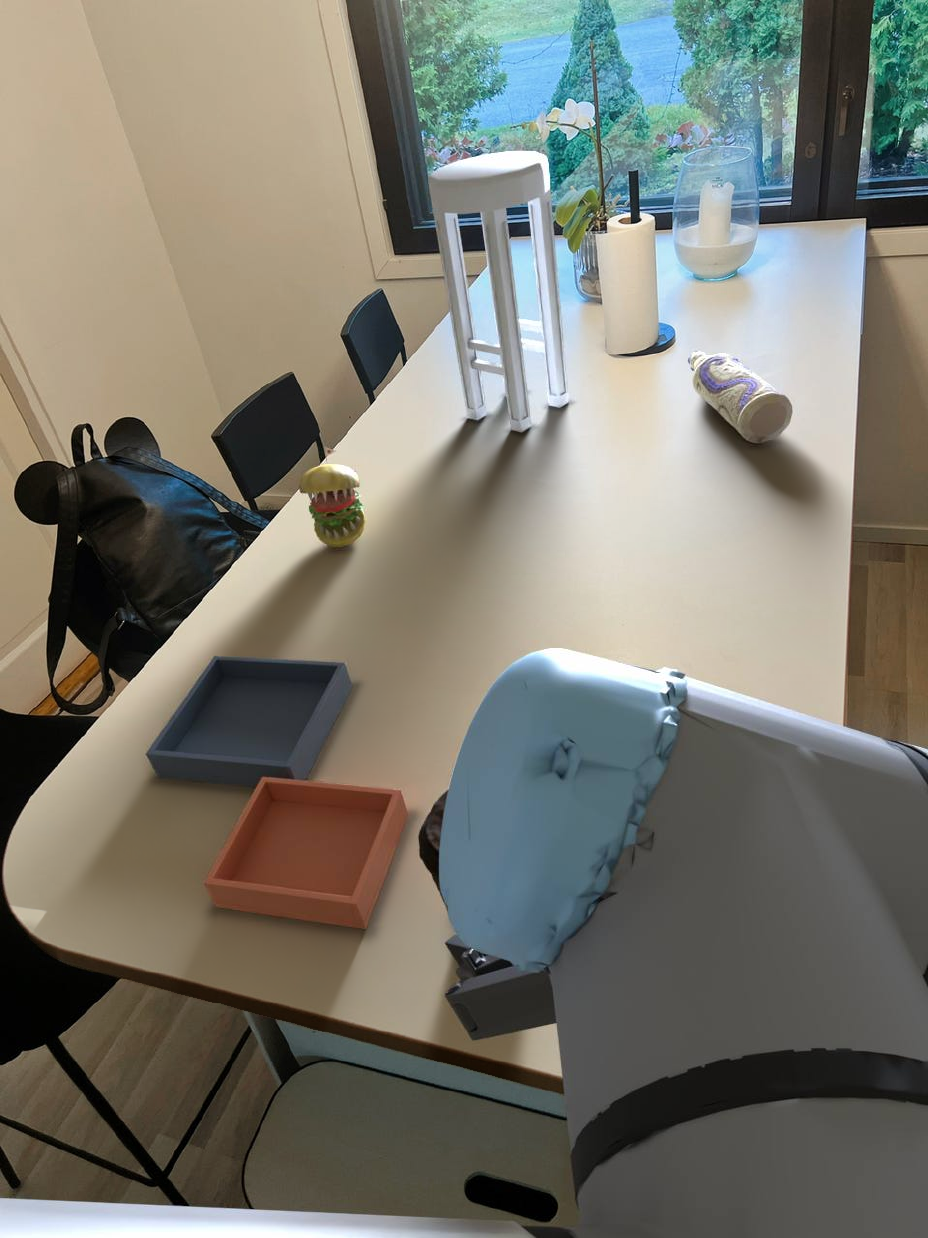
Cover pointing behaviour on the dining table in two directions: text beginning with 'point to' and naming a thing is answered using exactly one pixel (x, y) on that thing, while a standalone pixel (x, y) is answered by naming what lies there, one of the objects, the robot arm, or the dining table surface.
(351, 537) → the hamburger
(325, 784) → the terracotta tray
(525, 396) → the stool
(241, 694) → the slate tray
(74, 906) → the dining table surface
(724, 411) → the decorative bottle
